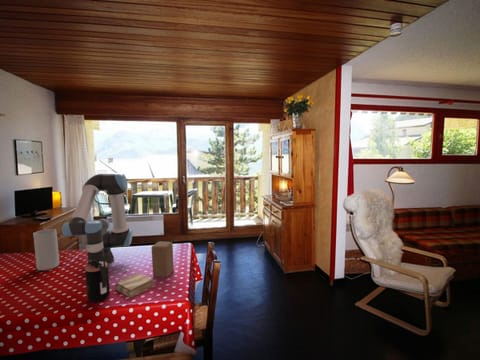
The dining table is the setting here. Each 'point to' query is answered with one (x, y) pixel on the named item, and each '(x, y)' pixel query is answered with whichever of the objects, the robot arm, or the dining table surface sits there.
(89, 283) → the coffee jar
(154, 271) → the wooden block
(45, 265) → the cylinder vase
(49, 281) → the dining table surface
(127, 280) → the plinth
